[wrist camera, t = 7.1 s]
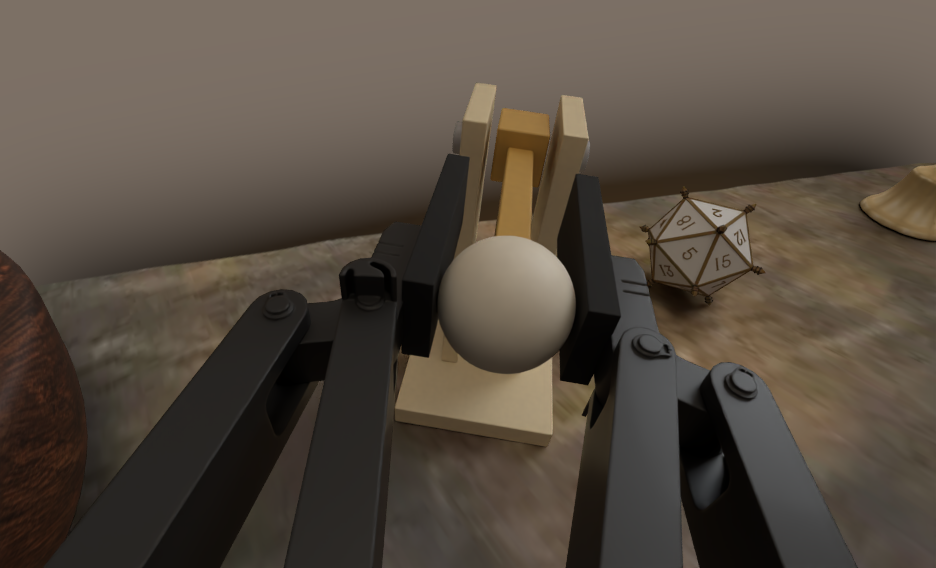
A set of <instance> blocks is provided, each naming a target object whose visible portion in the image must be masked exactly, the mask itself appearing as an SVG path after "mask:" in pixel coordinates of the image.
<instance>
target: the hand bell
mask: <svg viewBox="0 0 936 568" xmlns="http://www.w3.org/2000/svg"><path fill="white" fill-rule="evenodd" d="M860 206H861V208H862V210H863V211H864V212H865V213H866V214H868V215H869V217H871V218H872V219H874V220H875V221H877V222H878V223H880V224H882V225H884V226H886V227H888V228H890V229H893V230H895V231H897V232H899V233H902V234H905V235H908V236H911V237H915V238H919V239H923V240H931V241H936V165H933V166H919V167H916V168H914V169H913V170H912V171H911V172H910V173H909V174H908V175H907V176H906V177H905V178H904V179H903V180H901V181H900V182H899V183H898V184H896V185H895V186H893V187H892V188H890V189H889V190H887V191H885V192H883V193H880V194H877V195H872V196H869V197H867V198H865V199H863V200H862V201H861V203H860Z"/></svg>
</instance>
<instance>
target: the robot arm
mask: <svg viewBox="0 0 936 568" xmlns="http://www.w3.org/2000/svg"><path fill="white" fill-rule="evenodd" d="M469 161H470V157H466V156H460V155H453V154H448V155H447V158H446V161H445V163H444V166H443V169H442V172H441V174H440V177H439V180H438V182H437V185H436V188H435V191H434V193H433V196H432V199H431V201H430V205H429V207H428V210H427V212H426V215H425V218H424V221H423V223H422V226H420V225H413V224H407V223H401V222H394V223H393V224H391V225H390V226H389V227H388V228H386V229H385V230H384V231H383V233H382V235H381V238H380V240H379V243H378V244H377V246H376V248H375V251H374V253H373V255H372V257H371V258H362V259H358V260H355V261H352V262H350V263H348V264H347V265H346V266H344V267H343V268H342V270H341V272H340V274H339V279H340V287H341V295H342V298H341V299H338V300H335V301H329V302H319V303H307V300H306V298H305V297H304V296H303V295H302V294H300V293H298V292H295V291H293V290H282V289H281V290H276V291H270V292H268V293H266V294H264V295H261V296H259V297H258V298H257V299H256V300H255V301H254V302H253V303H252V304H251V305H250V306H249V307H248V309H247V310H246V311H245V313H244V314H243V315H242V316H241V318H240V319H239V320H238V321H237V323H236V324H235V325H234V326H233V328H232V329H231V330H230V331H229V333H228V334H227V335H226V337H225V338H224V339H223V340H222V342H221V343H220V344H219V345H218V347H217V348H216V349H215V350H214V352H213V353H212V354H211V356H210V357H209V358H208V359H207V361H206V362H205V363H204V364H203V366H202V367H201V368H200V369H199V371H198V372H197V373H196V374H195V376H194V377H193V378H192V380H191V381H190V382H189V383H188V385H187V386H186V387H185V388H184V390H183V391H182V392H181V393H180V395H179V396H178V397H177V398H176V400H175V401H174V402H173V404H172V405H171V406H170V407H169V409H168V410H167V411H166V412H165V414H164V415H163V416H162V417H161V419H160V420H159V421H158V423H157V424H156V425H155V426H154V428H153V429H152V430H151V431H150V433H149V434H148V435H147V436H146V438H145V439H144V440H143V441H142V443H141V444H140V445H139V447H138V448H137V449H136V450H135V452H134V453H133V454H132V455H131V457H130V458H129V459H128V460H127V462H126V463H125V464H124V465H123V467H122V468H121V469H120V471H119V472H118V473H117V474H116V476H115V477H114V478H113V479H112V481H111V482H110V483H109V484H108V486H107V487H106V488H105V489H104V491H103V492H102V493H101V495H100V496H99V497H98V498H97V500H96V501H95V502H94V503H93V505H92V506H91V507H90V508H89V510H88V511H87V512H86V514H85V515H84V516H83V517H82V519H81V520H80V521H79V522H78V524H77V525H76V526H75V527H74V529H73V530H72V531H71V532H70V534H69V535H68V536H67V538H66V539H65V540H64V541H63V543H62V544H61V545H60V546H59V548H58V549H57V550H56V551H55V553H54V554H53V555H52V556H51V558H50V559H49V560H48V562H47V563H46V564H45V565H44V567H43V568H220V567H221V565H222V563H223V561H224V559H225V557H226V555H227V554H228V552H229V550H230V548H231V546H232V544H233V542H234V540H235V539H236V537H237V535H238V533H239V531H240V529H241V527H242V525H243V523H244V522H245V520H246V518H247V516H248V514H249V512H250V510H251V508H252V507H253V505H254V503H255V501H256V499H257V497H258V495H259V493H260V491H261V490H262V488H263V486H264V484H265V482H266V480H267V478H268V476H269V475H270V473H271V471H272V469H273V467H274V465H275V463H276V461H277V459H278V458H279V456H280V454H281V452H282V450H283V448H284V446H285V444H286V443H287V441H288V439H289V437H290V435H291V433H292V431H293V429H294V427H295V426H296V424H297V422H298V420H299V418H300V416H301V414H302V412H303V411H304V409H305V407H306V405H307V403H308V401H309V399H310V397H311V395H312V394H313V392H314V390H315V388H316V386H317V384H318V382H319V381H323V380H325V381H324V385H323V390H322V395H321V399H320V404H319V408H318V413H317V417H316V422H315V427H314V431H313V436H312V440H311V445H310V450H309V454H308V459H307V463H306V468H305V472H304V477H303V482H302V486H301V491H300V495H299V500H298V504H297V509H296V514H295V518H294V523H293V527H292V532H291V537H290V541H289V546H288V550H287V555H286V559H285V564H284V568H382V560H383V547H384V534H385V521H386V509H387V496H388V483H389V470H390V458H391V445H392V432H393V420H394V407H395V394H396V381H397V369H398V354H399V350H400V347H401V344H402V354H408V355H414V356H419V357H425V358H429V355H430V351H431V347H432V343H433V339H434V335H435V331H436V327H437V323H438V319H439V318H438V312H437V298H438V292H439V286H440V284H441V281H442V278H443V276H444V274H445V272H446V270H447V268H448V267H449V265H450V264H451V263H452V261H453V260H454V256H455V252H456V248H457V244H458V240H459V236H460V232H461V228H462V224H463V215H464V206H465V197H466V188H467V179H468V170H469ZM557 258H558V259H559V260H560V262H561V263H562V264H563V266H564V267H565V269H566V270H567V272H568V274H569V276H570V278H571V281H572V284H573V287H574V291H575V298H576V313H575V319H574V323H573V327H572V329H571V331H570V334H569V336H568V338H567V340H566V341H565V343H564V344H563V346H562V347H561V349H560V381H566V382H572V383H578V384H584V385H588V384H589V382H590V380H591V378H592V376H593V374H594V379H595V389H594V391H593V393H592V395H591V397H590V399H589V401H588V403H587V405H586V407H585V409H584V411H583V414H582V416H585V417H586V415H587V414H588V415H587V422H586V429H585V436H584V443H583V450H582V457H581V464H580V471H579V478H578V485H577V492H576V499H575V506H574V513H573V520H572V527H571V534H570V541H569V548H568V555H567V562H566V568H683V556H682V524H681V500H682V503H683V507H684V511H685V515H686V518H687V522H688V526H689V530H690V533H691V537H692V541H693V545H694V548H695V552H696V556H697V560H698V563H699V567H700V568H858V567H857V565H856V563H855V561H854V559H853V557H852V555H851V553H850V551H849V549H848V547H847V545H846V543H845V541H844V539H843V537H842V535H841V533H840V531H839V529H838V527H837V525H836V523H835V521H834V519H833V517H832V515H831V513H830V511H829V509H828V507H827V505H826V503H825V501H824V499H823V497H822V495H821V493H820V491H819V489H818V486H817V484H816V482H815V480H814V478H813V476H812V474H811V472H810V470H809V468H808V466H807V464H806V462H805V460H804V458H803V456H802V454H801V452H800V450H799V448H798V446H797V444H796V442H795V440H794V438H793V436H792V434H791V432H790V430H789V428H788V426H787V424H786V422H785V420H784V418H783V416H782V414H781V412H780V410H779V408H778V406H777V404H776V402H775V400H774V398H773V396H772V394H771V392H770V390H769V388H768V387H767V385H766V384H765V382H764V381H763V380H762V379H761V378H760V377H759V376H758V375H756V374H755V373H754V372H753V371H751V370H749V369H747V368H746V367H744V366H742V365H738V364H735V363H731V362H726V363H719V364H717V365H715V366H713V368H712V369H711V370H707V369H705V368H703V367H700V366H698V365H695V364H693V363H691V362H688V361H686V360H684V359H682V358H680V357H679V356H677V355H676V353H675V350H674V347H673V346H672V344H671V343H670V342H669V340H668V339H667V338H665V337H664V336H663V335H661V334H660V333H659V331H658V327H657V323H656V319H655V314H654V310H653V306H652V302H651V298H650V297H649V290H648V286H647V282H646V277H645V273H644V271H643V269H642V268H641V267H640V266H639V264H638V263H637V262H636V261H635V259H631V258H625V257H619V256H612V255H611V251H610V245H609V239H608V233H607V227H606V221H605V215H604V209H603V203H602V198H601V192H600V185H599V179H598V177H594V176H587V175H581V174H576V175H575V178H574V182H573V185H572V189H571V192H570V195H569V199H568V202H567V206H566V209H565V213H564V216H563V219H562V223H561V226H560V230H559V233H558V237H557Z"/></svg>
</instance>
